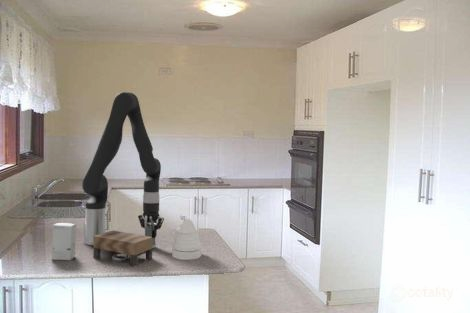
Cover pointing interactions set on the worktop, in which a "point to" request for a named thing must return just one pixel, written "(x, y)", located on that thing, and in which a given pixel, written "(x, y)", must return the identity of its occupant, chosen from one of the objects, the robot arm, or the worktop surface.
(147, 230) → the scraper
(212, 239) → the worktop surface
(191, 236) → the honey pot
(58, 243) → the skincare box
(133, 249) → the walnut table
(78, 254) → the worktop surface
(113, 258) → the disc
